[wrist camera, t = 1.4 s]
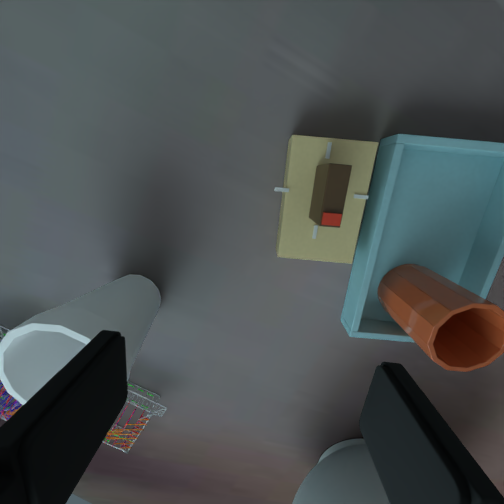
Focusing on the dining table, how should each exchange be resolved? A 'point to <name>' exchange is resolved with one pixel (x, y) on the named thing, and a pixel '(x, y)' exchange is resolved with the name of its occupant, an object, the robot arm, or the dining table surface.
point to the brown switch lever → (329, 194)
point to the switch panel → (300, 194)
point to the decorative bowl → (343, 477)
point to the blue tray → (427, 222)
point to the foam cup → (76, 332)
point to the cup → (443, 317)
